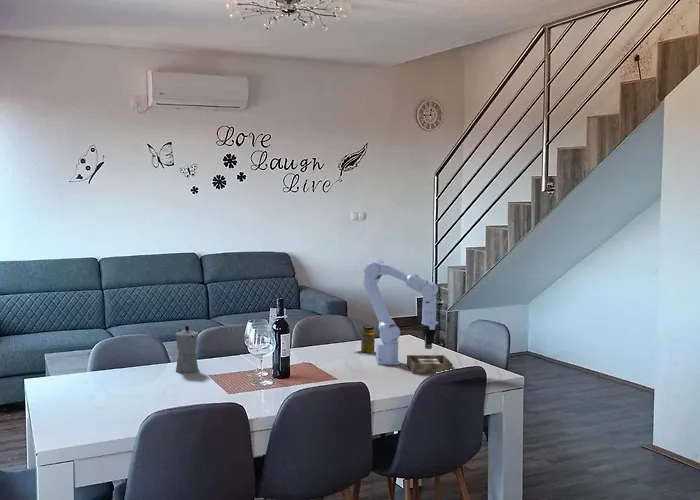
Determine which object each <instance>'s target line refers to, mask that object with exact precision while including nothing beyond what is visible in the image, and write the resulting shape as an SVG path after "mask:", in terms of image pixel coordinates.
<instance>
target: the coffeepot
mask: <svg viewBox="0 0 700 500" xmlns="http://www.w3.org/2000/svg"><path fill="white" fill-rule="evenodd" d="M189 327H190V326H189V325H186V326H185V327H184V328H185V329H183V328H179V329H178V332H175V338H176V347H177V351H178V354H177V361H176V367H175V372H177V373H181V374H189V373H191V374H192V373H196V372H198V371H199V365H198V360H197V354H196V351H197V345H198V338H199V332H198V331H196V330H195V331H194V330H190V329H189Z"/></svg>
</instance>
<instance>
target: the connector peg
mask: <svg viewBox="0 0 700 500" xmlns="http://www.w3.org/2000/svg"><path fill="white" fill-rule="evenodd" d="M424 349H425V350H432V349H433V344H432V345H427V344H426V337H425V341H424Z"/></svg>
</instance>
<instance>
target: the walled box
mask: <svg viewBox="0 0 700 500" xmlns="http://www.w3.org/2000/svg"><path fill="white" fill-rule="evenodd" d="M407 365H408V366H407ZM406 366H407V367H408V369H409V370H410V371H411V373H412V375H415V374H414V373H430V374H431V375H434V373H436V372H441V371H445V370H450V369H452V370H453V366H454V365H453V363H452V362H451V361H450V360H449V359H448V358H447V356H445V355H444V354H439V355H437V354H436V355H435V354H426V355H425V354H423V355H422V354H407V355H406ZM430 374H429V375H430Z"/></svg>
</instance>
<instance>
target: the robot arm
mask: <svg viewBox="0 0 700 500" xmlns="http://www.w3.org/2000/svg"><path fill="white" fill-rule="evenodd" d="M363 273H364V276H363V277H364V278H363V286H364V289H365V292H366V295H367V296H368V299H369V301H370V303H371V306H372V308H373V310H374V314H375V316H376V318H377V321H378V330H379V338H380V340H381V341H380V342H376V343H375V344H376V345H375V346H376V347H375V348H376V349H375V352H376V353H375V361H376V363H377V365H384V366H385V365H391V366H392V365H395V366H396V365H401V363H400V361H399V338H400V337H401V330H400V327H398V326H397V324H396V322H395V321H394V320H393V319H392V318H391V316H390V313H389V311H388V308H387V306H386V304H385V301H384V297H383V296H382V294H381V291H380V288H379V286H378V283H379V281H380V279H381V278H382V276H386V275H387V276H388V275H389V276H392V277H393V278H395V279H398V280H400V281H403V282H405V284H406V287H408V288H410V289H412V290H414V291H416V292H418V293H420V294H421V296H422V303H421V304H422V312H421V325H420V328H421V331H422V334H423V341H424V342H425V337H426V344H427V345H432V346H433V341H434V337H435V335H436V332H437V330H438V329H437V327H436V325H439V323H440V322H439V321H437V294H438V292H439V287H438V284H436V283H435V281H429V279H425V278H422V277H420V276H419V274H417V273H416V274H413V273H412V274H408V273H406V272H404V271H402V270H400V269H399V268H396V267H395V266H393V265H391V264H390V263H388V262H385V261H382V260H376V261H371V262H368V263H367V264H366V266H365V268H364V270H363Z"/></svg>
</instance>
